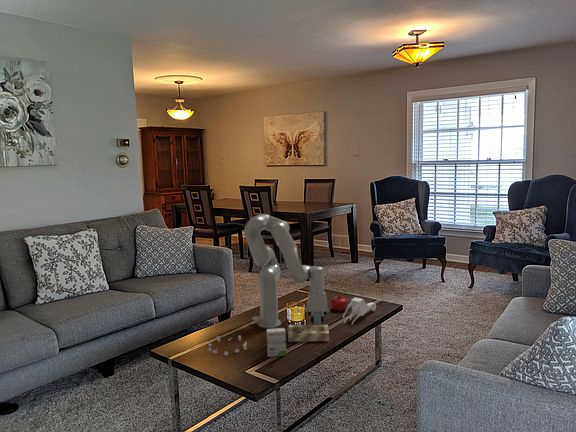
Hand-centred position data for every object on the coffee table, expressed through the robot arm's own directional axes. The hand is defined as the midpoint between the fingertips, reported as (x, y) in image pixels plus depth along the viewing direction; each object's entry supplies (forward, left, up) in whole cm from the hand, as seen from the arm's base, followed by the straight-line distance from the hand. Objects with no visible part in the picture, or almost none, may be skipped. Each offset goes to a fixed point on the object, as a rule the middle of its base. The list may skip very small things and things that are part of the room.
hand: (317, 323), depth 244 cm
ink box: (-20, -34, -2) cm, 39 cm away
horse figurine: (+25, +15, -3) cm, 29 cm away
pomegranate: (+14, +29, -3) cm, 32 cm away
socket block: (-5, -13, -2) cm, 14 cm away
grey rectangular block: (0, 0, -2) cm, 2 cm away
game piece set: (-44, -25, -3) cm, 51 cm away
